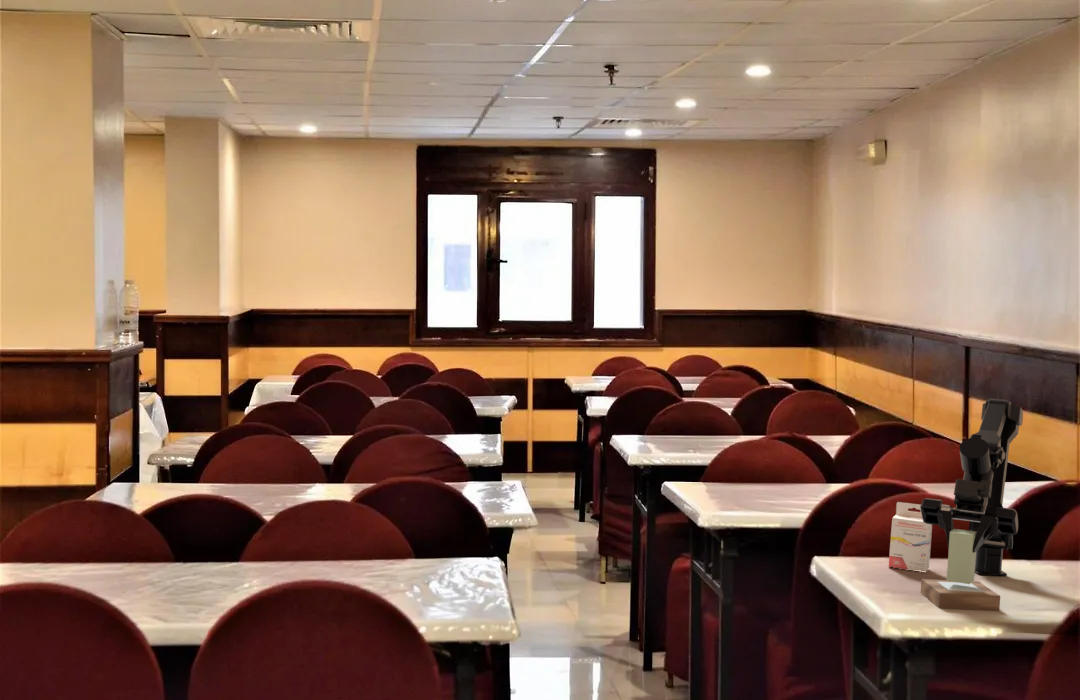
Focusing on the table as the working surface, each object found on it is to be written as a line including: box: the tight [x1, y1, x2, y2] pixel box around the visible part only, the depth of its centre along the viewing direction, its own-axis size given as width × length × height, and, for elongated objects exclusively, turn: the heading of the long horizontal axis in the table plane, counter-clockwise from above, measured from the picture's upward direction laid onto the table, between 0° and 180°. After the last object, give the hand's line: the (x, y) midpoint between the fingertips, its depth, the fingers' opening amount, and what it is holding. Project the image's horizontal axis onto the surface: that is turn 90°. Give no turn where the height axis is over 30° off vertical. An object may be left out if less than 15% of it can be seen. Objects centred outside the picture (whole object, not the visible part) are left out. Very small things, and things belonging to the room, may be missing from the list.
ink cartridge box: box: [888, 501, 933, 572], centre depth 276 cm, size 9×5×15 cm, turn 65°
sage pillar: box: [946, 528, 977, 584], centre depth 246 cm, size 4×4×10 cm
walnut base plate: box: [920, 578, 1001, 612], centre depth 247 cm, size 12×12×3 cm
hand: (961, 549), depth 245 cm, fingers closed on sage pillar, 4 cm apart
